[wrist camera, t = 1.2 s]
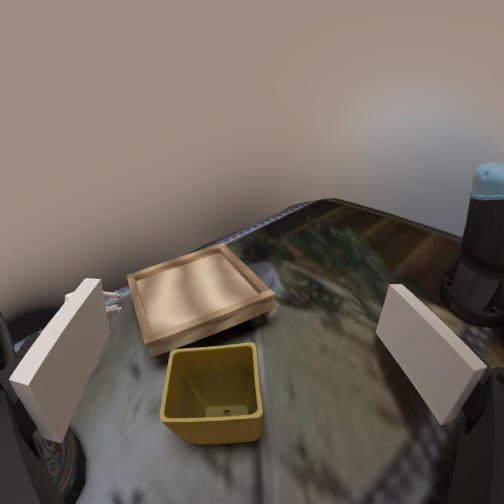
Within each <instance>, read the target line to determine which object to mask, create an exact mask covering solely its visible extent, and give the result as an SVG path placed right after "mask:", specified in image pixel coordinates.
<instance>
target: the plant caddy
mask: <svg viewBox="0 0 504 504" xmlns="http://www.w3.org/2000/svg"><path fill="white" fill-rule="evenodd" d="M127 278H128V282H129V286H130V291H131V295H132V299H133V303H134V307H135V311H136V314H137V318H138V322H139V325H140V329H141V332H142V336H143V339H144V343H145V345H146V347H147V350H148V352H149V354H150V356H151V358H152V357H154V356H157V355H160V354H163V353H164V354H165V357H166V359H167V361H169V356H170V353H171V351H172V350H175V349H176V348H179V347H182V346H184V345H187V344H189V343H192V342H195V341H197V340H200V339H202V338H205V337H207V336H210V335H212V334H215V333H217V332H220V331H222V330H225V329H227V328H230V327H232V326H235V325H237V324H239V323H242V322H244V321H247V323H248V324H249V325H250V327H255V326H257V325H259V324H262V323H263V321H264V319H263V315H262V314H263V313H265V312H268V311H270V310H272V309H275V308H276V303H275V293H274V292H272V291H271V290H270V289H269V288H268V287H267V286H266V285H265V284H264V283H263V282H262V281H261V280H260V279H259V278H258V277H257V276H256V275H255V274H254V273H253V272H252V271H251V270H250V269H249V268H248V267H247V266H246V265H245V264H244V263H243V262H242V261H241V260H240V259H239V258H238V257H237V256H236V255H235V254H234V253H233V252H232V251H230V250H229V249H228V248H227V247H226V246H225V245H224V244H223V243H221V244H218V245H215V246H212V247H209V248H206V249H203V250H200V251H197V252H194V253H191V254H188V255H185V256H182V257H179V258H176V259H173V260H170V261H167V262H164V263H161V264H158V265H155V266H152V267H150V268H146V269H144V270H141V271H138V272H135V273H132V274H129V275H127Z"/></svg>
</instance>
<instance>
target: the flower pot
mask: <svg viewBox="0 0 504 504" xmlns="http://www.w3.org/2000/svg"><path fill="white" fill-rule="evenodd" d="M225 411H229V414H225ZM262 419H263V409H262V401H261V395H260V387H259V378H258V365H257V351H256V345H255V343H241V344H232V345H224V346H213V347H201V348H187V349H175V350H172V351H171V353H170V356H169V361H168V367H167V373H166V379H165V385H164V391H163V397H162V403H161V409H160V420H161V421H162V422H163V423H164V424H165V425H166V426H167V427H168V428H169V429H170V430H172V431H173V432H174V433H175V434H176V435H177V436H178V437H180V438H181V439H183V440H184V441H186V442H189V443H193V444H227V443H243V442H252V441H255V440H257V439H258V438H259V437H260V436H261V433H262Z"/></svg>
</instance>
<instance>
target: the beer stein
mask: <svg viewBox="0 0 504 504" xmlns="http://www.w3.org/2000/svg"><path fill="white" fill-rule="evenodd" d="M14 355H15V350H14V346H13V342H12V339H11V335H10V332H9V329H8V327H7V324H6V322H5V320H4V318H3V315H2V313H1V312H0V375H1V373H2V372H3V370H4V369H5V367H6V366H7V365H8V363H9V362H10V360H11V359H12V358H13V357H14ZM33 436H34V437H35V439H36V441H37V443H38V446H39V448H40V451H41V453H42V456H43V458H44V461H45V463H46V465H47V468H48V470H49V472H50V474H51V476H52V479H53V481H54V483H55V485H56V487H57V489H58V491H59V493H60V495H61V497H62V499H63V501H64V502H65V504H75V503H76V501H77V499H78V497H79V495H80V493H81V491H82V489H83V487H84V485H85V466H86V458H85V456H84V453H83V450H82V448H81V445H80V442H79V440H78V439H77V438H76V436H75V435H74V434H73V432H72V430H71V428H70V427H69V426H68V428H67V431H66V434H65V436H64V439H63V442H62V443H59V442H55V441H52V440H49V439H45V438H43V437H42V435H41V434H40V432H39V431H38V429H37V428H36V430H35V432H34V434H33Z"/></svg>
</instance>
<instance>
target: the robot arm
mask: <svg viewBox="0 0 504 504" xmlns="http://www.w3.org/2000/svg"><path fill="white" fill-rule="evenodd" d="M469 195H470V203H469V209H468V214H467V219H466V224H465V229H464V233H463V238H462V243H461V247H460V250H459V251H458V253H457V255H456V256H455V258H454V259H453V261H452V263H451V264H450V266H449V267H448V269H447V270H446V272H445V274H444V276H443V279H442V283H441V287H440V293H441V297H442V299H443V301H444V303H445V304H446V306H447V307H448V308H449V309H450V310H451V311H452V312H453V313H454V314H456V315H457V316H458V317H460V318H461V319H463V320H465V321H467V322H469V323H472V324H475V325H479V326H485V327H491V326H497V325H500V324H502V323H504V163H497V162H494V163H484V164H481V165H480V166H478V167H477V168H476V170H475V172H474V176H473V182H472V188H471V190H470V193H469ZM109 333H110V329H109V324H108V319H107V313H106V308H105V302H104V296H103V290H102V284H101V279H87V278H86V279H85V280H84V281H83V282H82V283H81V285H80V286H79V287H78V288H77V289H76V290H75V292H74V293H73V294H72V295H71V296H70V298H69V299H68V300H67V301H66V302H65V304H64V305H63V306H62V307H61V309H60V310H59V311H58V312H57V314H56V315H55V316H54V318H53V319H52V320H51V321H50V323H49V324H48V325H47V326H46V328H45V329H44V330H43V332H42V333H41V334H40V333H35V334H33V335H32V336H30V337H29V338H28V339H26V340H25V342H24V343H23V344H22V346H21V347H20V348H19V349H20V350H18V351H17V352H16V354H15V355H14V357H13V358H12V359H11V360H10V362H9V363H8V365H7V366H6V367H5V369H4V370H3V372H2V373H1V375H0V504H65V502H64V501H63V499H62V497H61V495H60V493H59V491H58V489H57V487H56V485H55V483H54V481H53V479H52V476H51V474H50V472H49V470H48V468H47V465H46V463H45V461H44V458H43V456H42V453H41V451H40V448H39V446H38V443H37V441H36V439H35V437H34V436H33V434H34V432H35V430H36V428H37V429H38V431H39V432H40V434H41V435H42V437H43V438H45V439H49V440H52V441H55V442H59V443H62V442H63V439H64V436H65V434H66V431H67V428H68V426H69V423H70V421H71V418H72V416H73V413H74V411H75V408H76V406H77V403H78V401H79V399H80V396H81V394H82V392H83V389H84V387H85V385H86V382H87V380H88V378H89V376H90V373H91V371H92V369H93V367H94V365H95V362H96V360H97V358H98V356H99V354H100V352H101V350H102V348H103V346H104V343H105V341H106V339H107V337H108V335H109ZM376 334H377V335H378V336H379V338H380V339H381V340H382V342H383V343H384V344H385V346H386V347H387V349H388V350H389V351H390V353H391V354H392V355H393V357H394V358H395V360H396V361H397V362H398V364H399V365H400V367H401V368H402V369H403V371H404V372H405V374H406V375H407V376H408V378H409V379H410V381H411V382H412V384H413V385H414V386H415V388H416V389H417V391H418V392H419V394H420V395H421V397H422V398H423V400H424V401H425V403H426V404H427V405H428V407H429V408H430V410H431V411H432V413H433V414H434V416H435V417H436V419H437V420H438V422H439V423H440V425H443V424H445V423H448V422H450V421H453V420H454V419H455V418H456V416H457V415H458V413H459V412H460V411H461V409H462V410H463V412H464V413H465V414H464V416H463V417H462V419H461V420H460V421H459V423H458V424H457V426H456V427H455V428H454V430H453V432H452V434H455V432H456V431H457V430H458V429H459V428H460V431H459V433H458V434H457V435H459V443H458V450H457V456H456V462H455V468H454V473H453V478H452V483H451V487H450V491H449V496H448V500H447V503H446V504H504V368H501V367H497V368H494V369H492V368H491V367H490V366H489V365H488V364H487V363H486V362H485V361H484V360H483V359H482V358H481V357H480V356H479V355H478V354H477V353H476V352H475V351H473V349H472V347H471V346H470V345H468V343H466V342H465V341H464V340H463V339H462V338H461V337H460V336H459V335H457V334H455V333H454V332H453V331H452V330H451V329H450V328H449V327H447V326H446V325H445V324H444V323H443V322H442V321H441V320H440V319H439V318H438V317H437V316H436V315H435V314H434V313H433V312H432V311H431V310H430V309H428V308H427V307H426V306H425V305H424V304H423V303H422V302H421V301H420V300H419V299H418V298H417V297H415V296H414V295H413V294H412V293H411V292H410V291H409V290H408V289H407V288H405V287H404V286H403V285H402V284H391V285H389V288H388V292H387V295H386V299H385V303H384V306H383V310H382V313H381V316H380V320H379V323H378V326H377V329H376Z"/></svg>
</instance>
